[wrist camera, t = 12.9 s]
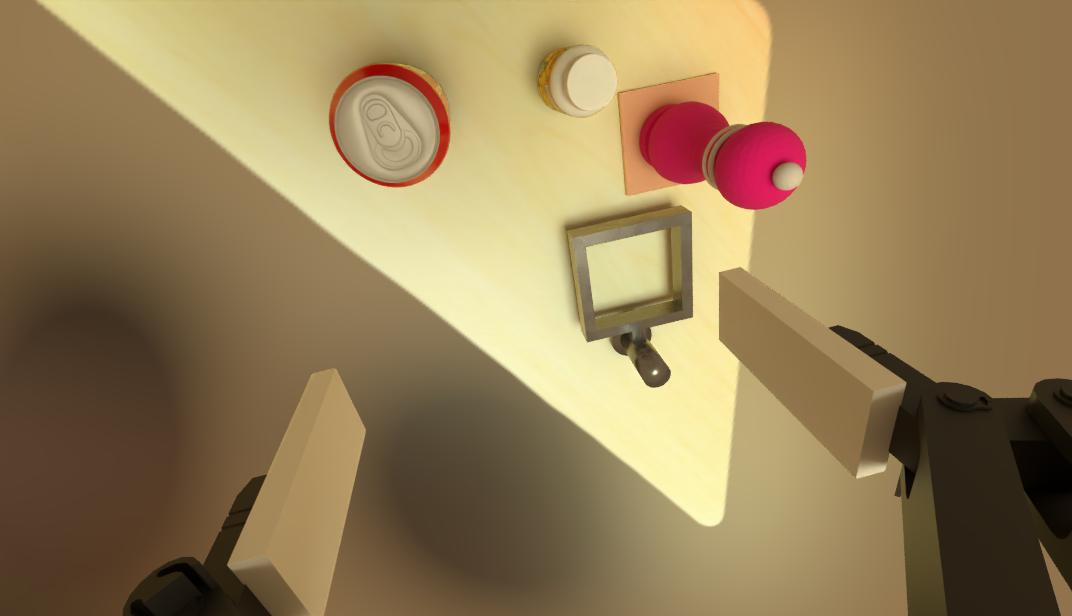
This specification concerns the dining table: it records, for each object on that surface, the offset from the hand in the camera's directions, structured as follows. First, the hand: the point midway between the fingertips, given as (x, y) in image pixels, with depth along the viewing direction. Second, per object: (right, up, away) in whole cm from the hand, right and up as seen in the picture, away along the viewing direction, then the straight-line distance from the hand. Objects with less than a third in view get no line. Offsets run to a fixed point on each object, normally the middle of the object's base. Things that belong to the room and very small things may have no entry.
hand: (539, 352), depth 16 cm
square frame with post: (+10, +4, +39) cm, 41 cm away
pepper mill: (+13, +19, +32) cm, 39 cm away
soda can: (-12, +20, +27) cm, 36 cm away
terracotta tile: (+14, +19, +32) cm, 40 cm away
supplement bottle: (+3, +23, +28) cm, 37 cm away
